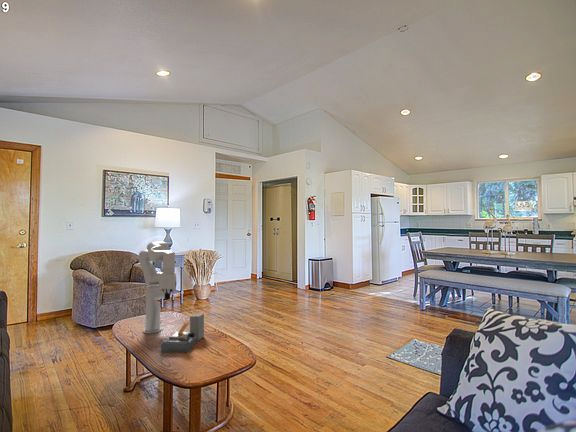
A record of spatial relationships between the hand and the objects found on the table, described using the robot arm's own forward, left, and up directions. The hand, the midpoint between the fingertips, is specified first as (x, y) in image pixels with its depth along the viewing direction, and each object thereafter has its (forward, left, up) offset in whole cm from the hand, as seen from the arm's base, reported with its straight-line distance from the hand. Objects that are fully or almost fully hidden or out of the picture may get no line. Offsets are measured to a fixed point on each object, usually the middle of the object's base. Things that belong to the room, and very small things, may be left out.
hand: (167, 299), depth 195 cm
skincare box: (-9, +17, -28) cm, 34 cm away
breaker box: (+6, +11, -28) cm, 31 cm away
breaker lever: (+6, +11, -20) cm, 24 cm away
